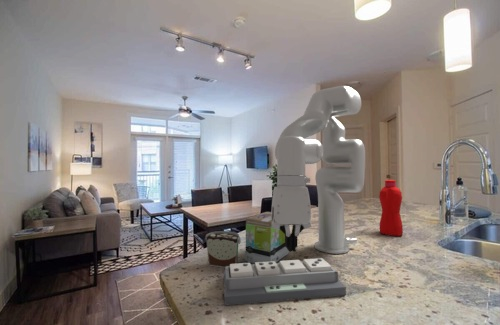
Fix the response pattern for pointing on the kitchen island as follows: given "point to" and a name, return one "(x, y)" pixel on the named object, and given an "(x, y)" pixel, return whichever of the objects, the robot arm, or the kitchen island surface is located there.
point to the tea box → (263, 240)
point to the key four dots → (267, 268)
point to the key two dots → (241, 270)
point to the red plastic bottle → (391, 209)
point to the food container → (222, 248)
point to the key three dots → (317, 265)
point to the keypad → (281, 286)
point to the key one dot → (292, 266)
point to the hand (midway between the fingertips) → (291, 249)
